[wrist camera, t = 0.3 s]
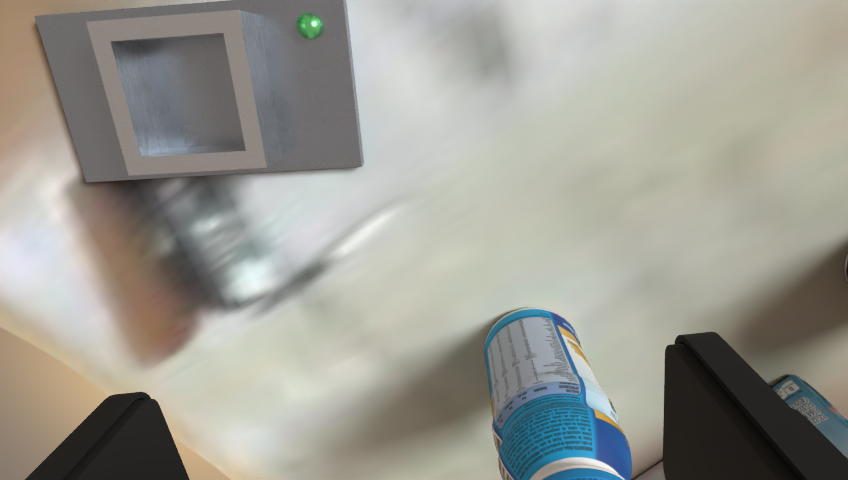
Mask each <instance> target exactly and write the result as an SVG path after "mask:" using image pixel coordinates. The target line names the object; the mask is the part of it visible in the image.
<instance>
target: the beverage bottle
mask: <svg viewBox="0 0 848 480" xmlns="http://www.w3.org/2000/svg"><path fill="white" fill-rule="evenodd" d="M484 354H485V361H486V366H487V373H488V381H489V389H490V397H491V406H492V414H493V423H492V431H493V438H494V442H495V446H496V449H497V451H498V454H499V457H498V461H499V469H500V473H501V476H502V479H503V480H631V472H632V461H631V452H630V447H629V444H628V441H627V439H626V436H625V435H624V433H623V431H622V430H621V428H620V427H619V421H618V417H617V414H616V412H615V409H614V407H613V405H612V403H611V401H610V399H609V398H608V396H607V395H606V394H605V393H604V392H603V391H602V390H601V388H600V386H599V384H598V382H597V380H596V378H595V376H594V374H593V372H592V370H591V368H590V366H589V364H588V361H587V359H586V357H585V355H584V353H583V351H582V349H581V345H580V342H579V339H578V337H577V334H576V332H575V330H574V329H573V327H572V326H571V324H570V323H569V322H568V321H567V320H566V319H565V318H563V317H562V316H561V315H559V314H557V313H555V312H553V311H550V310H547V309H543V308H524V309H519V310H516V311H513V312H511V313H509V314H507V315H505V316H504V317H502V318H501V319H500V320H498V321H497V322H496V323H495V324H494V326H493V327H492V328H491V330H490V331H489V333H488V335H487V338H486V341H485V347H484Z"/></svg>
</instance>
